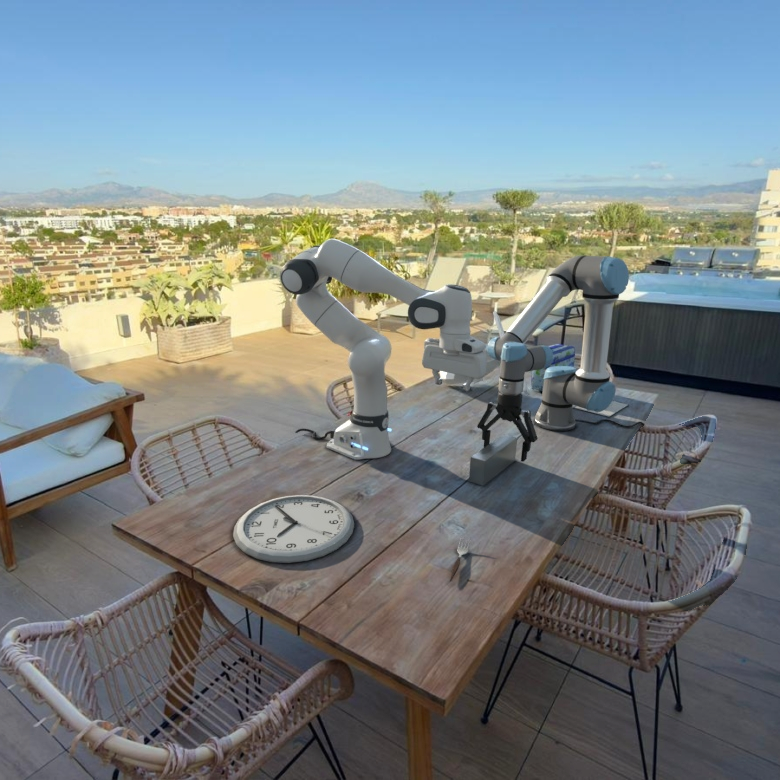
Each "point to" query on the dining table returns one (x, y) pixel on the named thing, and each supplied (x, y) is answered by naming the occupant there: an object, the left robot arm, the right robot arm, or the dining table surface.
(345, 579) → the dining table surface
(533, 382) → the lunch box
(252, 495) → the dining table surface
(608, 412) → the invitation card
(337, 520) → the wall clock
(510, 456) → the bar
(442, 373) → the white plastic object
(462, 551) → the fork
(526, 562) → the dining table surface
